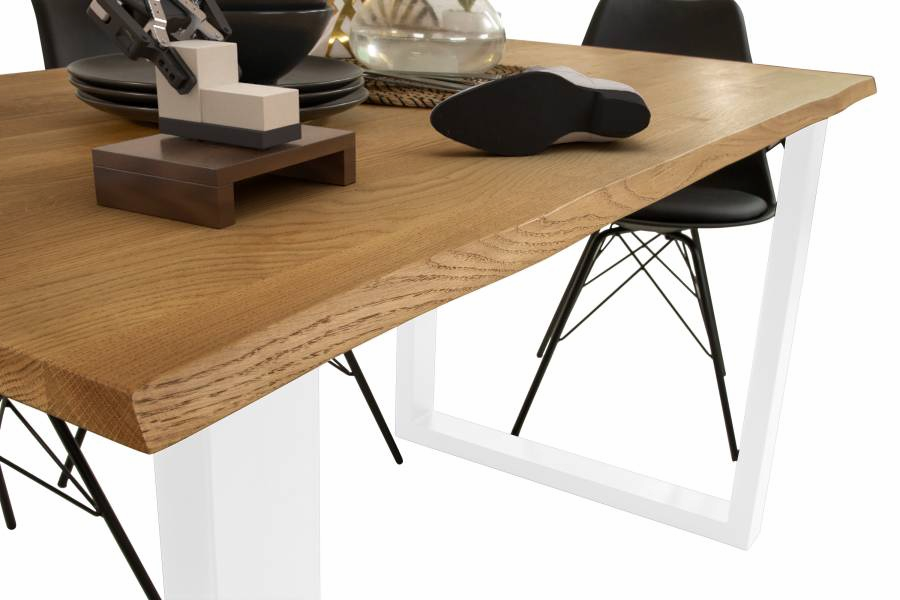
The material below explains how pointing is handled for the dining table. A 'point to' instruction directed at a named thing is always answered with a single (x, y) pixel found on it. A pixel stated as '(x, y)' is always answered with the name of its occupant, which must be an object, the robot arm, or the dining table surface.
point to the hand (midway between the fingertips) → (213, 84)
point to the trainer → (225, 101)
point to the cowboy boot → (540, 112)
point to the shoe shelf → (211, 172)
